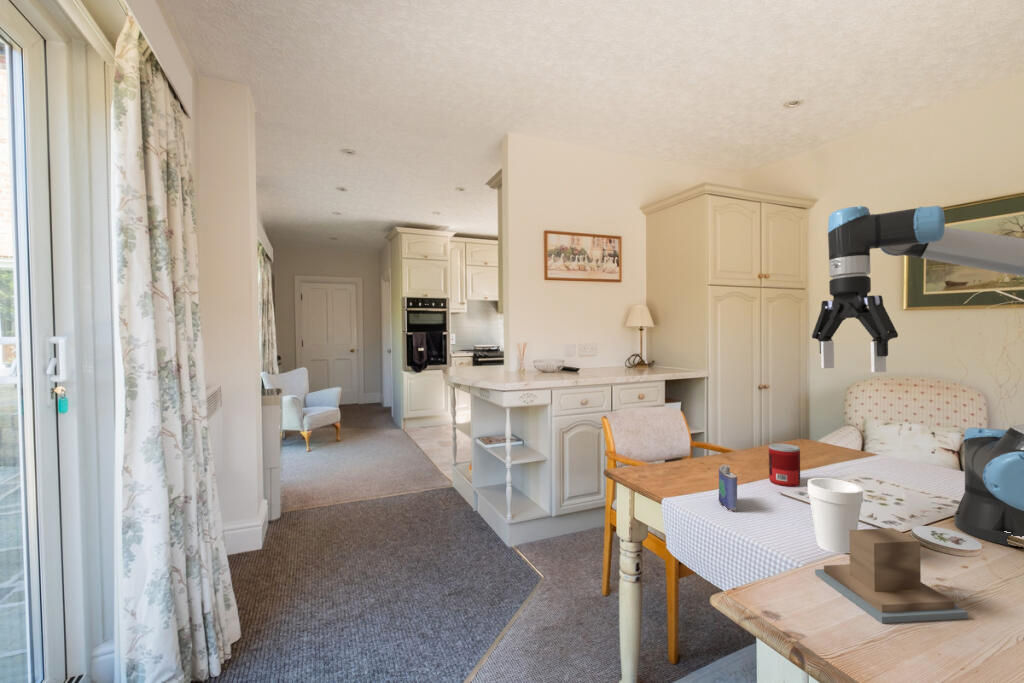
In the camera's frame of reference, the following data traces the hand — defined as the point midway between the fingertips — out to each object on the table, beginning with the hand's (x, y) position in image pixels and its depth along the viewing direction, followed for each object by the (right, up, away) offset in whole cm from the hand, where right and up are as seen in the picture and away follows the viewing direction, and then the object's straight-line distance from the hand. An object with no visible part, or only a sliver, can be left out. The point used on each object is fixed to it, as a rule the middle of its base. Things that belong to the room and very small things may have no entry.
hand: (851, 370), depth 101 cm
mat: (-14, -37, -26) cm, 47 cm away
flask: (-21, -37, +15) cm, 45 cm away
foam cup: (-10, -37, -9) cm, 39 cm away
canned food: (+4, -36, +31) cm, 48 cm away
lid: (-14, -36, -26) cm, 46 cm away
